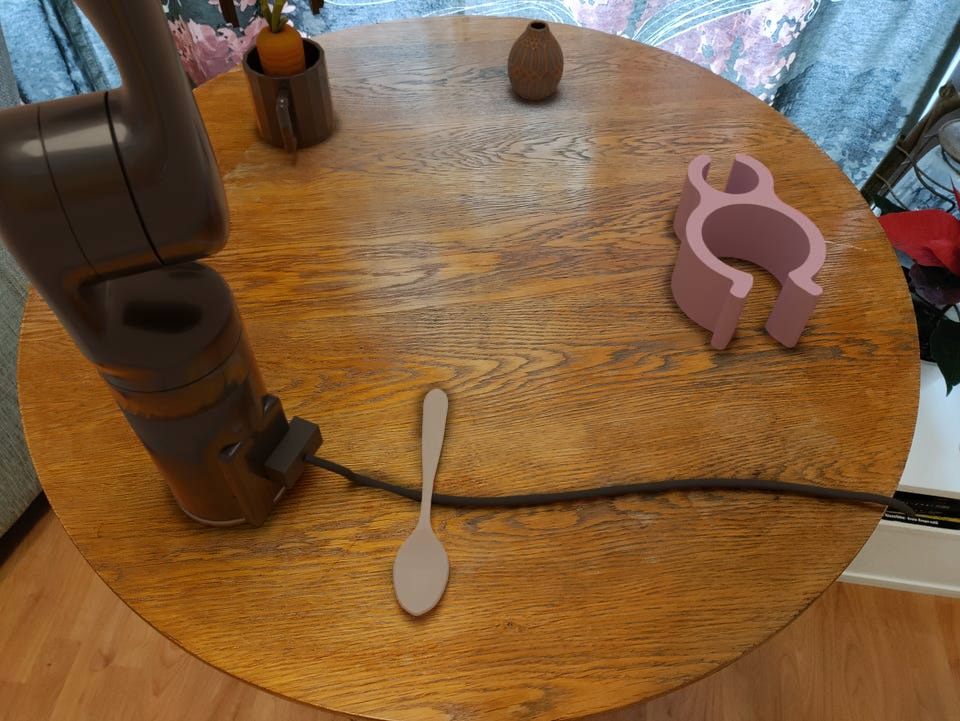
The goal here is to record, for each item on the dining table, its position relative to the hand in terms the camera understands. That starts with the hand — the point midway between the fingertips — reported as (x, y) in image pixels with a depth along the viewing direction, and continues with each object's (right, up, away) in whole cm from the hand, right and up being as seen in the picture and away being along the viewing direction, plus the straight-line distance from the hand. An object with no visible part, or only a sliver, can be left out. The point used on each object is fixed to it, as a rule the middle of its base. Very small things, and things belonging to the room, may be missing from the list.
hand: (275, 18), depth 82 cm
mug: (0, -10, +9) cm, 14 cm away
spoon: (+18, -47, -21) cm, 55 cm away
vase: (+29, -3, +16) cm, 33 cm away
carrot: (0, -8, +10) cm, 13 cm away
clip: (+47, -28, -5) cm, 55 cm away
